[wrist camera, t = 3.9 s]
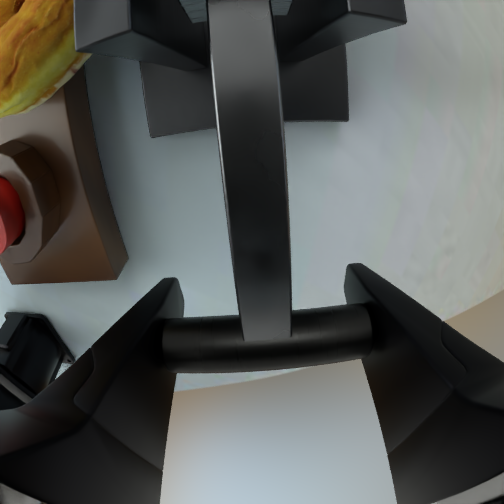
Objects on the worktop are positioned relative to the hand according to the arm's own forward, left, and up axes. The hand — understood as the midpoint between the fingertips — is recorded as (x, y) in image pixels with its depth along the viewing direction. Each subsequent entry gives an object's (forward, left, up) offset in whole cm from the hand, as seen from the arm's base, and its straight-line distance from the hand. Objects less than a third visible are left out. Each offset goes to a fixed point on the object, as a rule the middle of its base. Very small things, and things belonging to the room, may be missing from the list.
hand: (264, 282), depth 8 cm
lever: (+4, 0, 0) cm, 4 cm away
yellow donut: (+13, +9, -2) cm, 15 cm away
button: (+3, +13, -4) cm, 14 cm away
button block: (+3, +13, -7) cm, 15 cm away
